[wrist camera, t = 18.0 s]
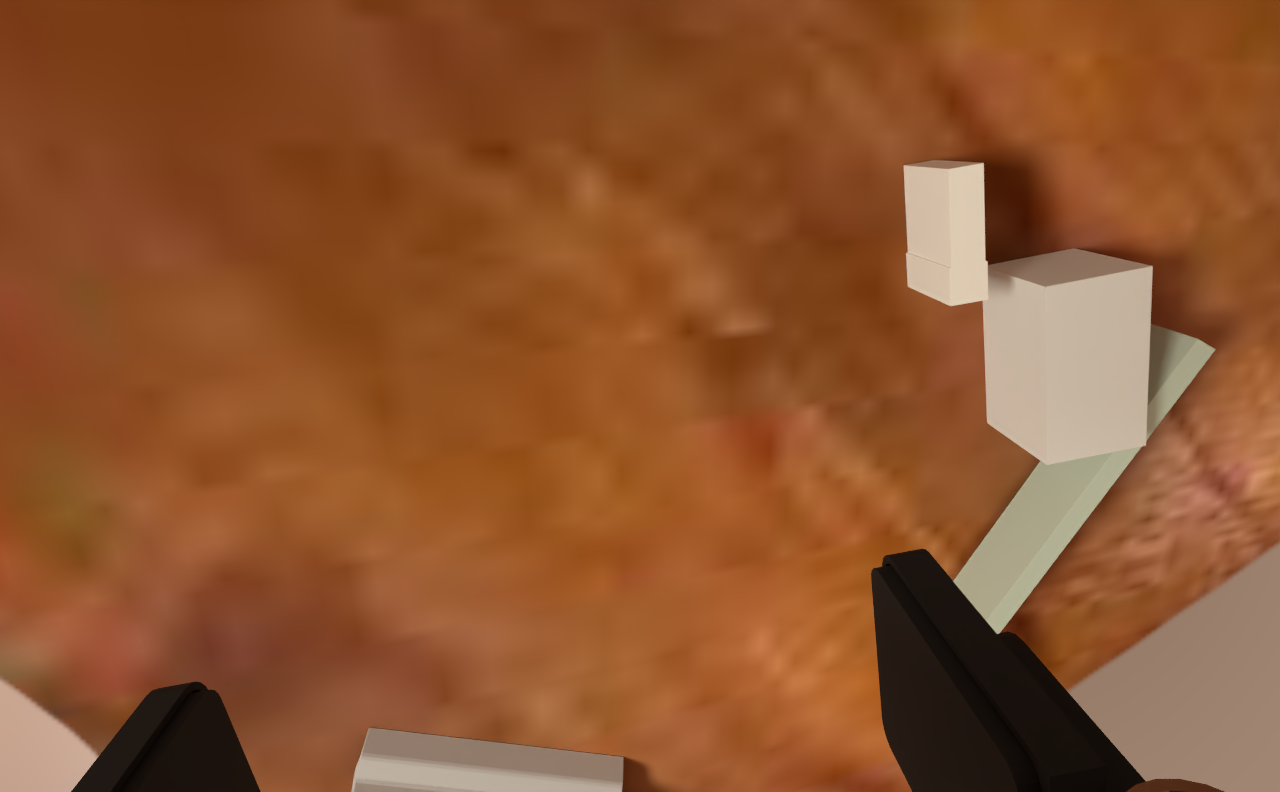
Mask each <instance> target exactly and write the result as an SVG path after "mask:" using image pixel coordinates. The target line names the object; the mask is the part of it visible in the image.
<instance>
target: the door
mask: <svg viewBox="0 0 1280 792" xmlns="http://www.w3.org/2000/svg"><path fill="white" fill-rule="evenodd" d="M1215 350H1216V349H1214V348H1212V347H1211V346H1209V345H1207V344H1206V343H1204V342H1202V341H1201V340H1199V339H1197V338H1194V337H1191V336H1188V335H1185V334H1182V333H1179V332H1175V331H1172V330H1169V329H1166V328H1163V327H1160V326H1157V325H1154V324H1151V326H1150V352H1149V379H1148V405H1147V431H1146V440H1147V439H1148V438H1149V436H1150V435H1151V434H1152V433H1153V431H1154V430H1155V429H1156V427H1157V426H1158V425H1159V423H1160V422H1161V421H1162V419H1163V418H1164V417H1165V415H1166V414H1167V413H1168V412H1169V410H1170V409H1171V408H1172V406H1173V405H1174V404H1175V402H1176V401H1177V400H1178V398H1179V397H1180V396H1181V394H1182V393H1183V392H1184V390H1185V389H1186V388H1187V387H1188V385H1189V384H1190V383H1191V381H1192V380H1193V379H1194V377H1195V376H1196V375H1197V373H1198V372H1199V371H1200V369H1201V368H1202V367H1203V366H1204V364H1205V363H1206V362H1207V360H1208V359H1209V358H1210V356H1211V355H1212V354H1213V352H1214V351H1215ZM1141 447H1142V446H1141ZM1141 447H1136V448H1131V449H1126V450H1121V451H1116V452H1111V453H1106V454H1101V455H1096V456H1090V457H1085V458H1080V459H1075V460H1070V461H1065V462H1060V463H1055V464H1050V465H1046V464H1045V463H1043V462H1042V461H1040V462H1039V464H1038V465H1037V466H1036V468H1035V469H1034V471H1033V472H1032V473H1031V475H1030V476H1029V478H1028V479H1027V480H1026V482H1025V483H1024V484H1023V486H1022V487H1021V489H1020V490H1019V491H1018V493H1017V494H1016V495H1015V497H1014V498H1013V500H1012V501H1011V502H1010V504H1009V505H1008V506H1007V508H1006V509H1005V511H1004V512H1003V513H1002V515H1001V516H1000V517H999V519H998V520H997V522H996V523H995V524H994V526H993V527H992V529H991V530H990V531H989V533H988V534H987V535H986V537H985V538H984V540H983V541H982V542H981V544H980V545H979V546H978V548H977V549H976V551H975V552H974V553H973V555H972V556H971V557H970V559H969V560H968V562H967V563H966V564H965V566H964V567H963V569H962V570H961V571H960V573H959V574H958V575H957V577H956V578H955V580H954V581H953V582H954V583H955V584H956V585H957V587H958V588H959V589H960V590H961V591H962V593H963V594H964V595H965V596H966V597H967V599H968V600H969V601H970V602H971V603H972V605H973V606H974V607H975V608H976V609H977V611H978V612H979V613H980V614H981V615H982V617H983V618H984V619H985V620H986V621H987V623H988V624H989V625H990V626H991V627H992V629H993V630H994V631H995V632H996V633H997V634H999V633H1000V632H1001V631H1002V630H1003V628H1004V627H1005V626H1006V624H1007V623H1008V622H1009V621H1010V619H1011V618H1012V617H1013V615H1014V614H1015V613H1016V611H1017V610H1018V609H1019V607H1020V606H1021V605H1022V603H1023V602H1024V601H1025V599H1026V598H1027V597H1028V596H1029V594H1030V593H1031V592H1032V590H1033V589H1034V588H1035V586H1036V585H1037V584H1038V582H1039V581H1040V580H1041V578H1042V577H1043V576H1044V575H1045V573H1046V572H1047V571H1048V569H1049V568H1050V567H1051V565H1052V564H1053V563H1054V561H1055V560H1056V559H1057V557H1058V556H1059V555H1060V553H1061V552H1062V551H1063V550H1064V548H1065V547H1066V546H1067V544H1068V543H1069V542H1070V540H1071V539H1072V538H1073V536H1074V535H1075V534H1076V532H1077V531H1078V530H1079V528H1080V527H1081V526H1082V525H1083V523H1084V522H1085V521H1086V519H1087V518H1088V517H1089V515H1090V514H1091V513H1092V511H1093V510H1094V509H1095V507H1096V506H1097V505H1098V504H1099V502H1100V501H1101V500H1102V498H1103V497H1104V496H1105V494H1106V493H1107V492H1108V490H1109V489H1110V488H1111V486H1112V485H1113V484H1114V482H1115V481H1116V480H1117V479H1118V477H1119V476H1120V475H1121V473H1122V472H1123V471H1124V469H1125V468H1126V467H1127V465H1128V464H1129V463H1130V461H1131V460H1132V459H1133V458H1134V456H1135V455H1136V454H1137V452H1138V451H1139V450H1140V448H1141Z"/></svg>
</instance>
